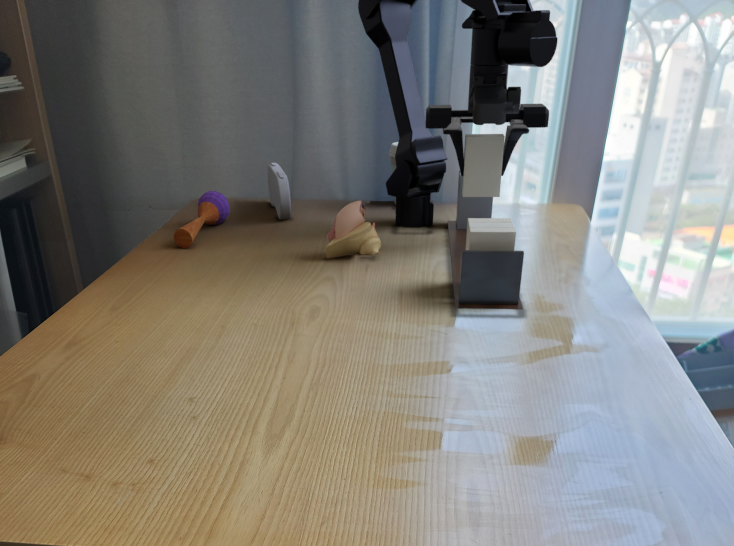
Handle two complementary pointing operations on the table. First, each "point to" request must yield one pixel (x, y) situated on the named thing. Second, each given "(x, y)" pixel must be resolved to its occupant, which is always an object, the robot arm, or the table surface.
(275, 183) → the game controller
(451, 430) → the table surface
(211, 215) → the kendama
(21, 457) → the table surface
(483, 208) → the grey books
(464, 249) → the book rack
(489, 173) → the ivory book
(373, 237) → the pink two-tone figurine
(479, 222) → the cream books
